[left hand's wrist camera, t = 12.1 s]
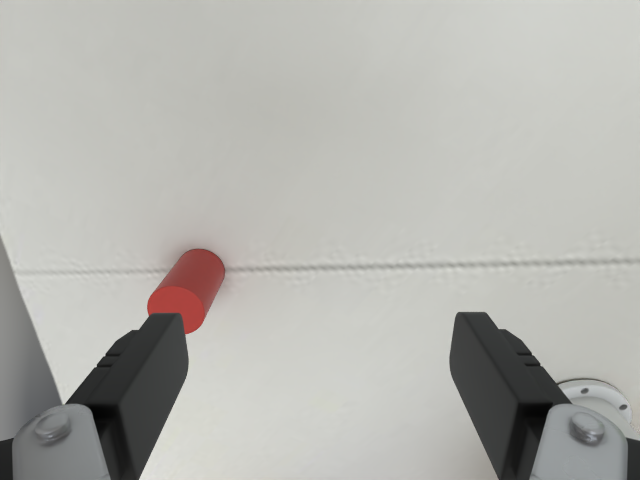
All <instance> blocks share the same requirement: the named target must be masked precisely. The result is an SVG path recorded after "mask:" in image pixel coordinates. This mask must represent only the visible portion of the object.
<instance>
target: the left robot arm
mask: <svg viewBox="0 0 640 480" xmlns="http://www.w3.org/2000/svg"><path fill="white" fill-rule="evenodd" d="M188 362H189V360H188V351H187V344H186V337H185V331H184V324H183V318H182V315H181V314H180V313H152V314H151V315H150V316H149V317H148V319H147V320H146V321H145V322H144V324H143V325H142V326H141V328H140V329H139V330H132V331H130V332H129V333H127V334H126V335H124V336H123V337H121V338H120V339H118V340H117V341H116V342H115V343H114V344H113V345H112V347H111V348H110V349H109V350H108V352H107V353H106V356H105V357H103V358H102V359H101V360H100V361H99V363H98V364H97V367H96V368H94V369H93V370H92V371H91V373H90V374H89V375H88V376H87V378H86V379H85V380H84V381H83V382H82V384H81V385H80V386H79V387H78V389H77V390H76V391H75V392H74V394H73V395H72V396H71V397H70V398H69V400H68V401H67V402H66V403H65V405H61V406H57V407H54V408H51V409H49V410H47V411H44V412H42V413H40V414H39V415H37V416H35V417H34V418H32V419H31V420H30V421H28V422H27V423H26V424H25V425H24V426H23V427H22V428H21V429H20V430H19V431H18V433H17V434H16V436H15V437H14V438H11V439H8V440H4V441H0V480H139V478H140V476H141V474H142V472H143V470H144V467H145V465H146V463H147V461H148V459H149V457H150V454H151V452H152V450H153V448H154V446H155V444H156V442H157V439H158V437H159V435H160V433H161V431H162V429H163V426H164V424H165V422H166V420H167V418H168V416H169V414H170V411H171V409H172V407H173V405H174V403H175V401H176V398H177V396H178V394H179V392H180V390H181V388H182V386H183V383H184V381H185V379H186V376H187V372H188ZM450 371H451V375H452V378H453V381H454V383H455V385H456V387H457V389H458V391H459V394H460V396H461V398H462V400H463V402H464V404H465V407H466V409H467V411H468V413H469V415H470V418H471V420H472V422H473V424H474V426H475V428H476V431H477V433H478V435H479V437H480V439H481V442H482V444H483V446H484V448H485V450H486V452H487V455H488V457H489V459H490V461H491V463H492V465H493V468H494V470H495V472H496V474H497V476H498V479H499V480H640V441H639V440H635V439H631V438H627V437H625V436H624V434H623V432H622V431H621V430H620V429H619V428H618V427H617V426H616V425H615V424H614V423H613V422H612V421H610V420H609V419H608V418H606V417H605V416H603V415H601V414H600V413H598V412H596V411H594V410H591V409H589V408H586V407H583V406H579V405H574V404H572V403H571V401H570V400H569V399H568V398H567V396H566V395H565V394H564V393H563V391H562V390H561V389H560V388H559V386H558V385H557V384H556V383H555V381H554V380H553V379H552V378H551V376H550V375H549V374H548V373H547V371H546V370H545V369H544V368H543V367H541V366H540V363H539V361H538V360H537V359H536V358H535V356H532V353H531V352H530V350H529V349H528V348H527V347H526V345H525V344H524V343H523V342H522V340H520V339H519V338H517V337H516V336H514V335H513V334H511V333H510V332H509V331H507V330H506V329H498V328H497V326H496V325H495V324H494V322H493V321H492V320H491V318H490V317H489V316H488V314H487V313H485V312H458V313H457V315H456V317H455V323H454V330H453V336H452V343H451V350H450Z"/></svg>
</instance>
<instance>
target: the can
mask: <svg viewBox="0 0 640 480" xmlns="http://www.w3.org/2000/svg"><path fill="white" fill-rule="evenodd" d="M224 276H225V269H224V266H223V263H222V262H221V260H220V259H219V258H218V257H217V256H216V255H215V254H213V253H212V252H210V251H207V250H203V249H194V250H190V251H188V252H186V253H185V254H183V255H182V256H181V258H180V259H179V260H178V262H177V263H176V264H175V265H174V267H173V268H172V269H171V270H170V272H169V273H168V274H167V276H166V277H165V278H164V279H163V281H162V282H161V283H160V285H159V286H158V287H157V288H156V290H155V291H154V292H153V293H152V295H151V296H150V298H149V300H148V304H147V310H148V314H149V316H150V315H151V314H152V313H180V314H181V315H182V318H183V324H184V331H185V334H189V333H191V332H194V331H195V330H197V329H198V328H199V327H200V326H201V325H202V323H203V321H204V319H205V317H206V315H207V313H208V311H209V309H210V307H211V304H212V302H213V300H214V298H215V296H216V294H217V292H218V290H219V288H220V286H221V284H222V281H223V279H224Z"/></svg>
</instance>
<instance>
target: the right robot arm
mask: <svg viewBox="0 0 640 480" xmlns="http://www.w3.org/2000/svg"><path fill="white" fill-rule="evenodd" d="M558 386H559V388H560V389H561V390H562V391H563V393H564V394H565V395H566V396H567V398H568V399H569V400H570V401H571V403H572V404H574V405H579V406H583V407H586V408H589V409H591V410H594V411H596V412H598V413H600V414H601V415H603V416H605V417H606V418H608V419H609V420H610V421H612V422H613V423H614V424H615V425H616V426H617V427H618V428H619V429H620V430H621V431H622V432H623V434H624V436H625V437H627V438H631V439H635V440H639V441H640V435H639V434H638V432H637V431H636V430H635V429H634V428H633V427H632V426H631V425H630V424H631V421H632V410H631V406H630V404H629V402H628V401H627V399H626V398H625V397H624V396H623V395H622V394H621V393H620V392H619V391H618V390H617V389H616V388H614V387H613V386H611V385H609V384H607V383H604V382H601V381H596V380H575V381H569V382H565V383H561V384H559V385H558Z"/></svg>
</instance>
